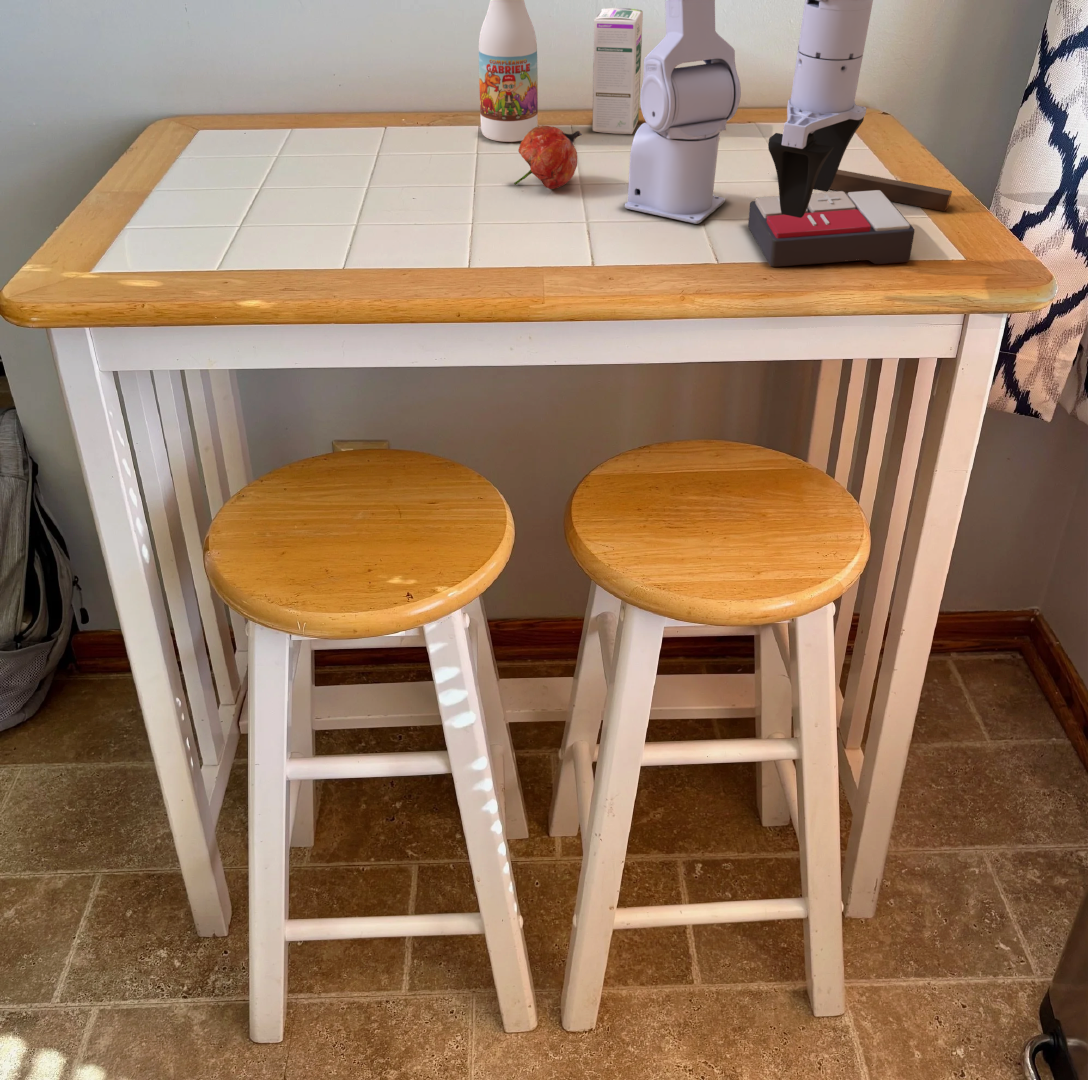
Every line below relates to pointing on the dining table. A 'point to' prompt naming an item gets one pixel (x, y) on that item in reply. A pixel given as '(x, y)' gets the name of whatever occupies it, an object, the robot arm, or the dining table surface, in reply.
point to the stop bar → (893, 190)
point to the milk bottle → (508, 72)
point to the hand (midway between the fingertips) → (805, 201)
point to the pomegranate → (550, 155)
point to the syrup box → (617, 70)
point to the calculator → (832, 230)
